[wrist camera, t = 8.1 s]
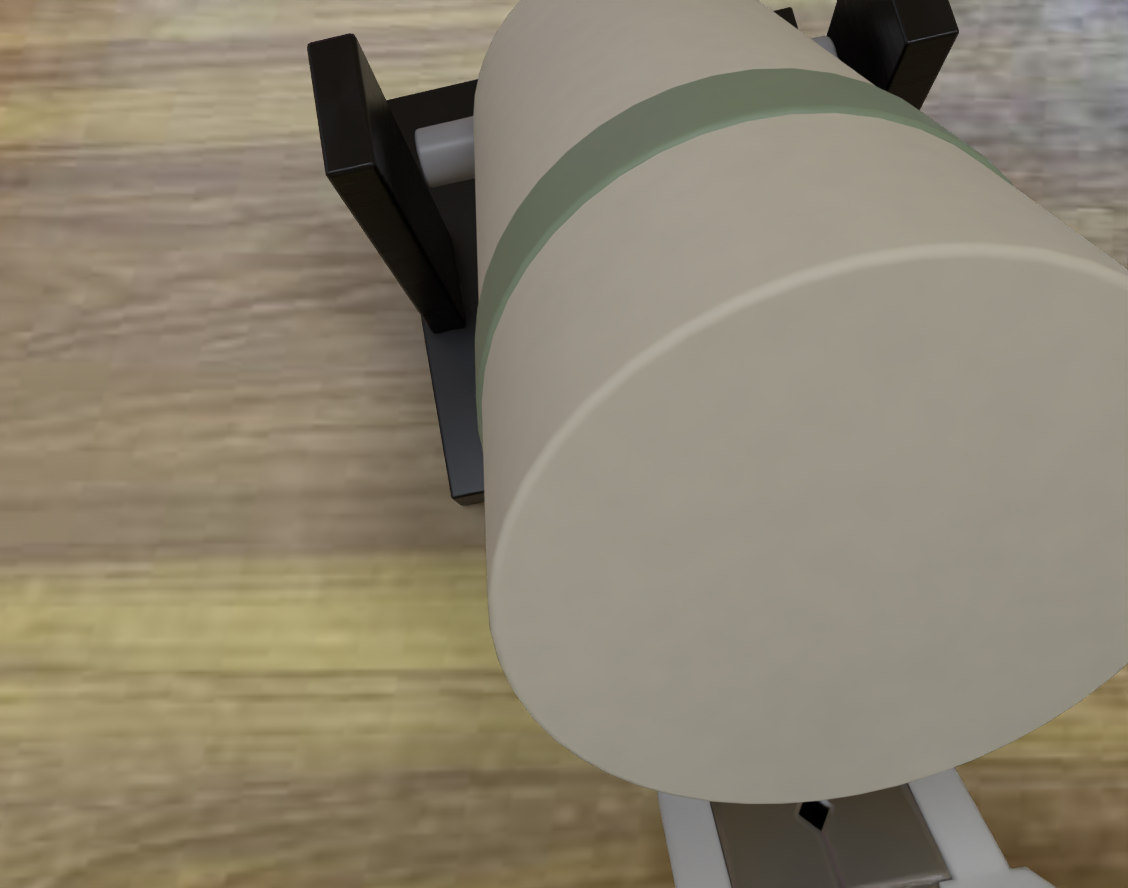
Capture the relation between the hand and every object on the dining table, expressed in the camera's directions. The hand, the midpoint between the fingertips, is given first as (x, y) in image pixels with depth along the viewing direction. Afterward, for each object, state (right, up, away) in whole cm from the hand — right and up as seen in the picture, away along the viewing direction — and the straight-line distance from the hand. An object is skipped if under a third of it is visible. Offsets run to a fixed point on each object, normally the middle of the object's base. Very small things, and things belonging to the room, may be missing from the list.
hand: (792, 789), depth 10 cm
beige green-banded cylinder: (0, +4, +3) cm, 5 cm away
